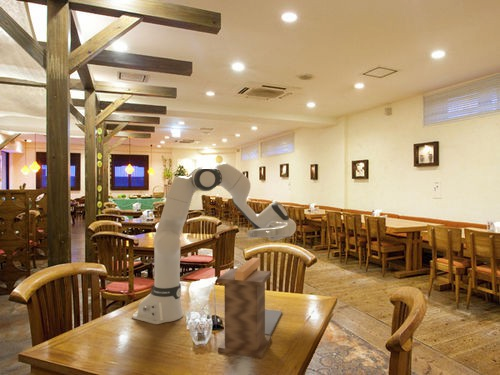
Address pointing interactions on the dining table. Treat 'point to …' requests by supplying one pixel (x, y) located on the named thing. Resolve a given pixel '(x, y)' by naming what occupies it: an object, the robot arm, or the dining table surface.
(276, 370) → the dining table surface
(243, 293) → the wooden pillar on base
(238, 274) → the bar
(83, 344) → the dining table surface
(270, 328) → the mat
